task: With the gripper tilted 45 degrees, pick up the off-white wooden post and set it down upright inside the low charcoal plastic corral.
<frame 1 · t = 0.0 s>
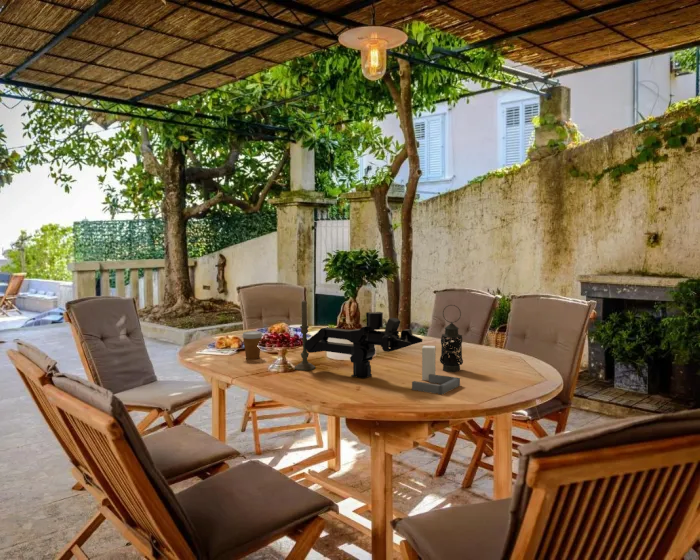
hand: (416, 342, 228), 17 cm above the table, tool horizontal, fingers open, 9 cm apart
lantern: (451, 370, 253), on the table
candlestick holder: (304, 368, 259), on the table
corral: (434, 387, 225), on the table
disposable coffee cup: (252, 358, 282), on the table
post: (428, 378, 238), on the table
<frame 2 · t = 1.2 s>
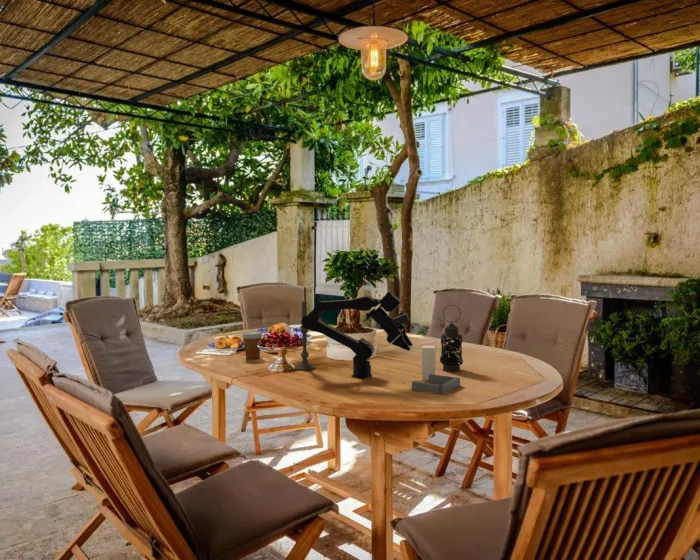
hand: (410, 347, 239), 12 cm above the table, tool tilted 45°, fingers open, 9 cm apart
nothing on the table moved.
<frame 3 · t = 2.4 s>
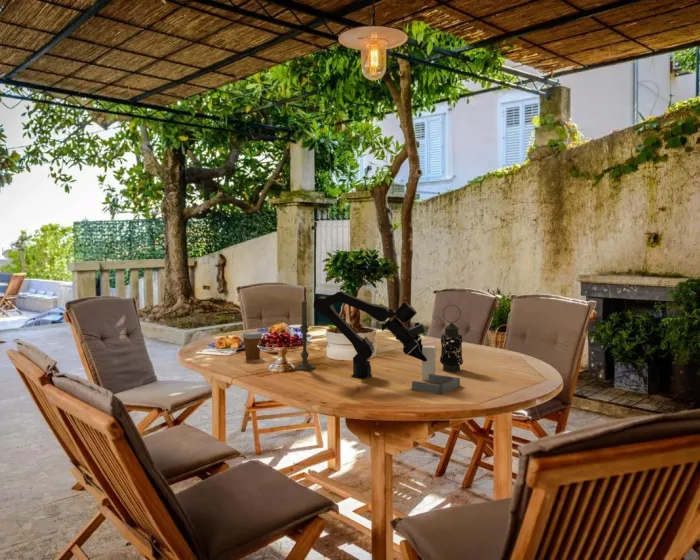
hand: (427, 358, 238), 8 cm above the table, tool tilted 45°, fingers open, 9 cm apart
nothing on the table moved.
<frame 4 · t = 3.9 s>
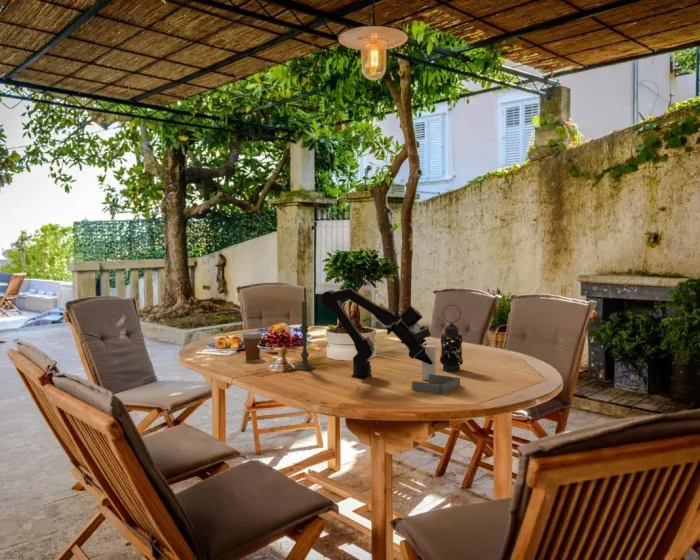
hand: (432, 362, 238), 7 cm above the table, tool tilted 45°, fingers closed on post, 5 cm apart
post: (428, 378, 238), on the table, touching gripper
everything else where it was.
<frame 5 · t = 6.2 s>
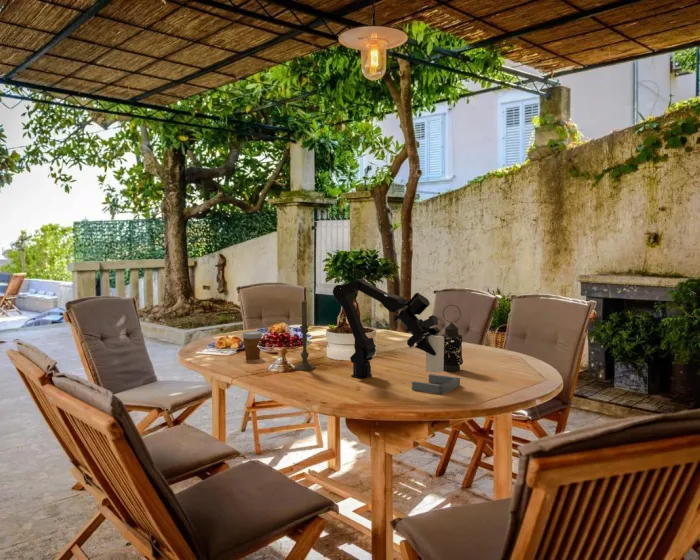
hand: (438, 353, 224), 13 cm above the table, tool tilted 45°, fingers closed on post, 5 cm apart
post: (434, 370, 226), point 6 cm above the table, touching gripper
everything else where it was.
when the fingers open (7 cm above the table, at t = 8.3 s): post stays where it is, on the table.
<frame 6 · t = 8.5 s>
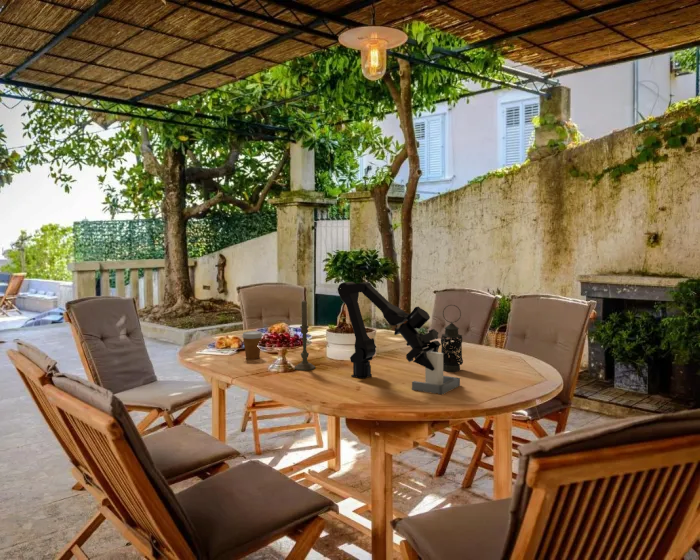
hand: (437, 368, 223), 8 cm above the table, tool tilted 45°, fingers open, 7 cm apart
post: (434, 387, 225), on the table
everything else where it was.
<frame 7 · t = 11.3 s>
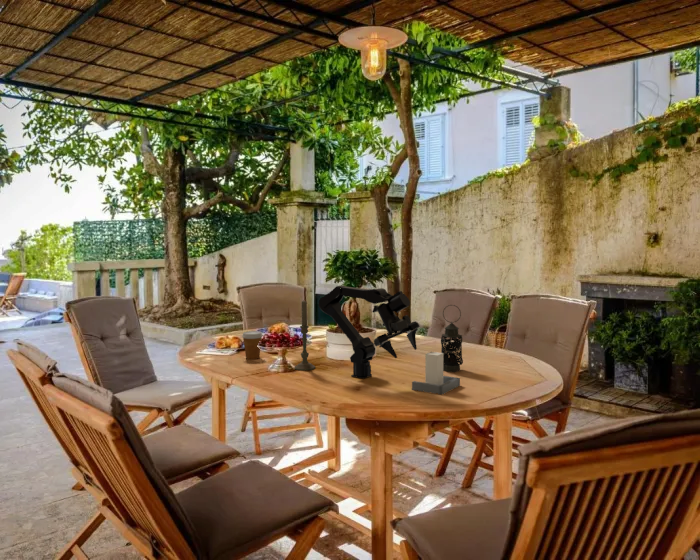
hand: (406, 353, 231), 12 cm above the table, tool tilted 30°, fingers open, 9 cm apart
nothing on the table moved.
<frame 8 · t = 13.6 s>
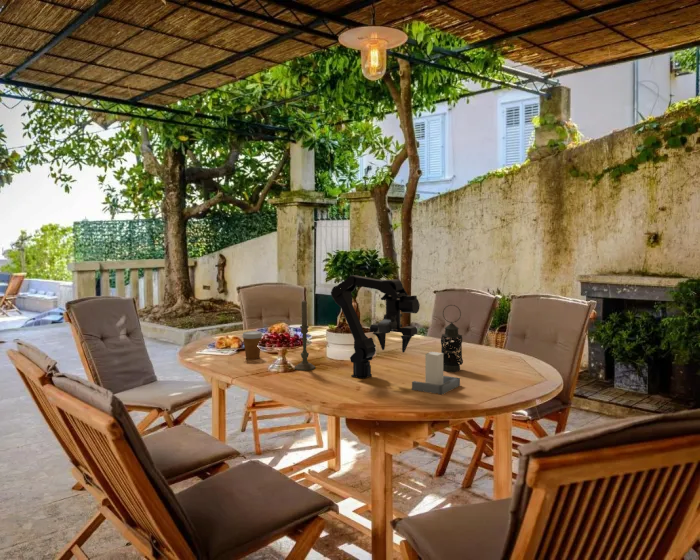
hand: (393, 351, 234), 12 cm above the table, tool pointing down, fingers open, 9 cm apart
nothing on the table moved.
at the end: post inside the target area on the corral (0.1 cm from its centre), point 0.0 cm above the corral's base; post tilted 0°; the gripper is holding nothing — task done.
